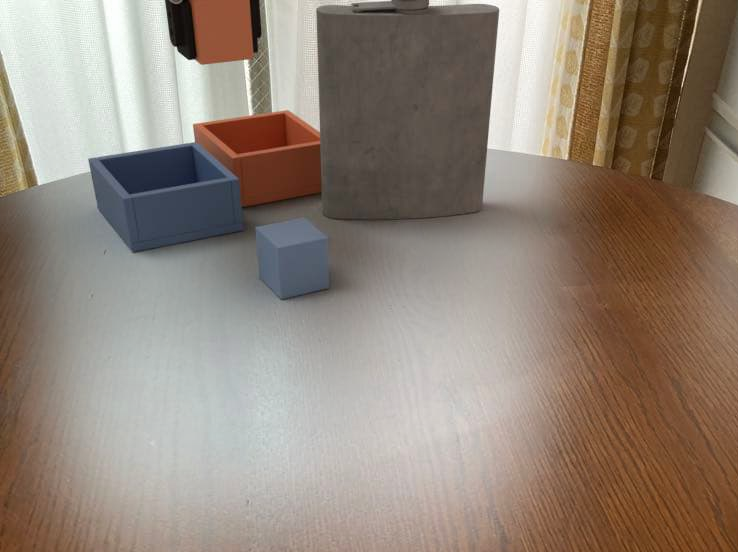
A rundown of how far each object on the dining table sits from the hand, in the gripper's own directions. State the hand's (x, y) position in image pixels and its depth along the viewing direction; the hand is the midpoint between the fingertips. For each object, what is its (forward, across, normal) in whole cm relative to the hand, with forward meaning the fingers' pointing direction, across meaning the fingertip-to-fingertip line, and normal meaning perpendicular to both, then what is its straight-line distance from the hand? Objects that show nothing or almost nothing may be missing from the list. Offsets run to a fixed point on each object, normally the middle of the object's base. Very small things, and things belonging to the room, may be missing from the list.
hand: (217, 49), depth 75 cm
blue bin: (+15, +5, -5) cm, 17 cm away
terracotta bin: (+15, -7, -10) cm, 20 cm away
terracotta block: (0, 0, 0) cm, 0 cm away
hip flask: (+16, -17, +2) cm, 23 cm away
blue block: (+15, -1, +12) cm, 19 cm away
